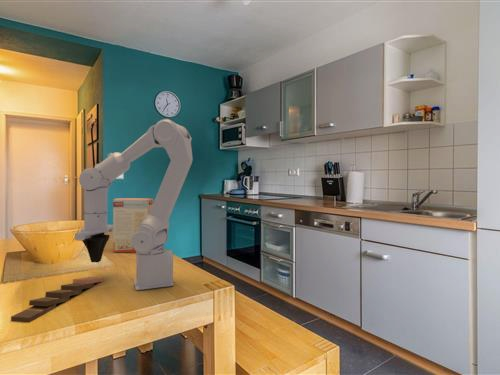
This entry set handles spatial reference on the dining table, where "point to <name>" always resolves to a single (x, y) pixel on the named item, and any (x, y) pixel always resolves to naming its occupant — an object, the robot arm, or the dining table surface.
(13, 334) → the dining table surface
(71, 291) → the domino
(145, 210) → the cracker box
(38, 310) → the domino
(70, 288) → the domino
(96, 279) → the domino
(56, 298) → the domino
